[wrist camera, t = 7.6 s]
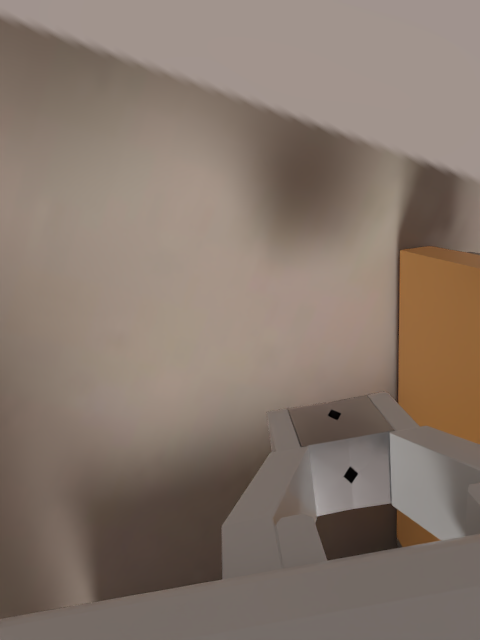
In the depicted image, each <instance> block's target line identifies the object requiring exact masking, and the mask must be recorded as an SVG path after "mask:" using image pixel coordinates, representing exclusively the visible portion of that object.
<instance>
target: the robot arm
mask: <svg viewBox="0 0 480 640" xmlns="http://www.w3.org/2000/svg"><path fill="white" fill-rule="evenodd" d="M267 422H268V429H269V436H270V442H271V449H272V452H271V453H270V454H269V455H268V457H267V458H266V460H265V461H264V463H263V464H262V466H261V467H260V469H259V470H258V472H257V473H256V475H255V476H254V478H253V479H252V481H251V482H250V484H249V485H248V487H247V488H246V490H245V491H244V493H243V494H242V496H241V498H240V499H239V501H238V502H237V504H236V505H235V507H234V508H233V510H232V511H231V513H230V514H229V516H228V517H227V519H226V520H225V522H224V523H223V525H222V580H216V581H211V582H205V583H200V584H194V585H188V586H183V587H177V588H172V589H166V590H160V591H155V592H149V593H143V594H137V595H131V596H126V597H120V598H114V599H109V600H103V601H98V602H92V603H86V604H81V605H75V606H69V607H64V608H58V609H53V610H47V611H41V612H36V613H30V614H25V615H19V616H13V617H8V618H2V619H0V640H480V444H477V443H474V442H471V441H468V440H466V439H463V438H460V437H457V436H454V435H452V434H449V433H446V432H443V431H440V430H437V429H435V428H432V427H429V426H421V427H420V426H419V425H418V424H417V423H416V422H415V421H414V420H413V419H412V418H411V417H410V416H409V415H408V413H407V412H406V411H405V410H404V409H403V408H402V407H401V406H400V405H399V404H398V403H397V402H396V401H395V400H394V399H393V398H392V397H391V396H390V395H389V394H388V392H384V391H383V392H378V393H374V394H369V395H364V396H359V397H354V398H349V399H344V400H339V401H334V402H329V403H319V404H313V405H306V406H299V407H293V408H287V409H286V408H284V409H279V410H274V411H268V412H267ZM390 503H392V506H394V507H395V508H397V509H398V510H399V511H401V512H402V513H404V514H405V515H406V516H408V517H409V518H411V519H412V520H413V521H415V522H416V523H418V524H419V525H420V526H422V527H423V528H424V529H426V530H427V531H429V532H430V533H431V534H433V535H434V536H436V537H437V538H438V539H440V540H441V541H435V542H429V543H424V544H418V545H412V546H407V547H401V548H395V549H390V550H384V551H378V552H373V553H367V554H361V555H356V556H350V557H345V558H339V559H334V560H328V561H327V558H326V555H325V552H324V549H323V546H322V543H321V540H320V537H319V534H318V531H317V528H316V525H315V524H316V520H317V516H321V515H326V514H331V513H336V512H340V511H345V510H350V509H356V508H363V507H370V506H376V505H383V504H390Z"/></svg>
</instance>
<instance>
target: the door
mask: <svg viewBox="0 0 480 640" xmlns="http://www.w3.org/2000/svg"><path fill="white" fill-rule="evenodd" d="M398 404H399V405H400V406H401V407H402V408H403V409H404V410H405V411H406V412H407V413H408V415H409V416H410V417H411V418H412V419H413V420H414V421H415V422H416V423H417V424H418V425H419V426H420V427H421V426H429V427H432V428H435V429H437V430H440V431H443V432H446V433H449V434H452V435H454V436H457V437H460V438H463V439H466V440H468V441H471V442H474V443H477V444H480V254H479V253H473V252H460V251H455V250H449V249H444V248H438V247H433V246H427V247H419V248H412V249H404V250H400V296H399V383H398ZM397 538H398V539H397V546H398V547H399V548H401V547H407V546H412V545H418V544H424V543H429V542H435V541H441V540H440V539H438V538H437V537H436V536H434V535H433V534H431V533H430V532H429V531H427V530H426V529H424V528H423V527H422V526H420V525H419V524H418V523H416V522H415V521H413V520H412V519H411V518H409V517H408V516H406V515H405V514H404V513H402V512H401V511H399V510H398V509H397Z"/></svg>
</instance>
